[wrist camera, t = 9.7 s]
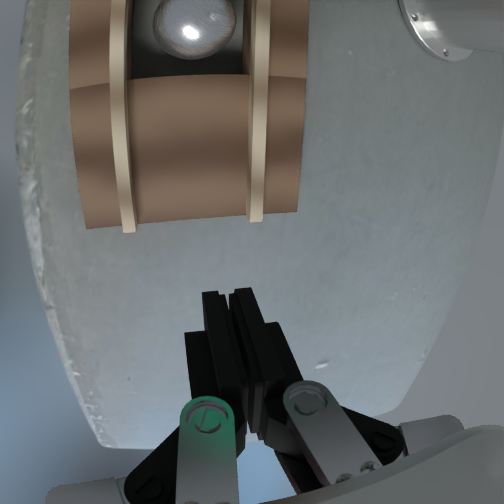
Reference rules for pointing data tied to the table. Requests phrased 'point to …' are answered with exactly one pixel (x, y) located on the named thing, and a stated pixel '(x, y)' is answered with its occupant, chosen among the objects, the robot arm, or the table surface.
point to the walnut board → (187, 122)
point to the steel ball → (193, 27)
